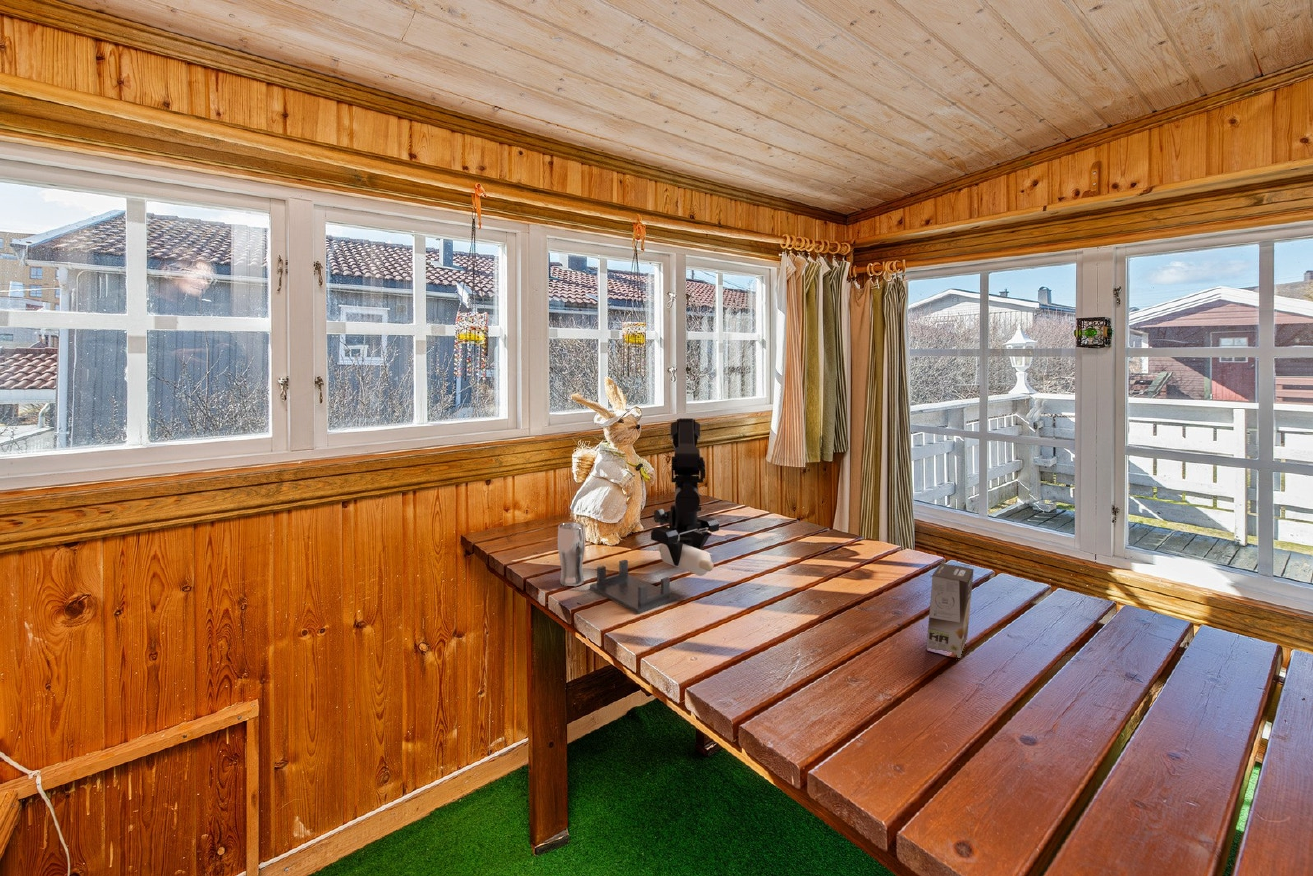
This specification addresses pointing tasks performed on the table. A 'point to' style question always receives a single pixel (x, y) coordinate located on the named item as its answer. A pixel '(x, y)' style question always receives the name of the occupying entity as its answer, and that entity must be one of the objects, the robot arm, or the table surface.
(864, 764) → the table surface
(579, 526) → the beer glass
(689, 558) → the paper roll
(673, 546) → the robot arm
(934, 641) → the coffee box
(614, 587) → the roll stand
